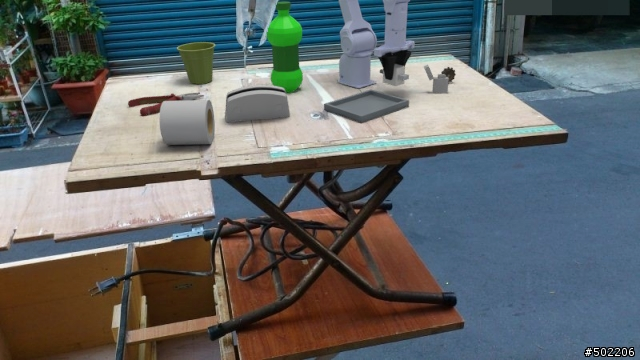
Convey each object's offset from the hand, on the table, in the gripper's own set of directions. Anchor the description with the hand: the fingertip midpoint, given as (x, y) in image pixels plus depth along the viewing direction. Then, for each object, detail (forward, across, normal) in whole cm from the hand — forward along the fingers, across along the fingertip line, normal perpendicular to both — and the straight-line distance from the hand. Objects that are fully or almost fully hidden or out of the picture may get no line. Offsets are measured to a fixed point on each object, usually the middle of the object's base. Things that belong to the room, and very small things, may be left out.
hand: (393, 77), depth 151 cm
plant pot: (+6, -32, +53) cm, 62 cm away
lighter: (+5, +10, -7) cm, 13 cm away
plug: (+2, 0, 0) cm, 2 cm away
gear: (+5, +20, -4) cm, 21 cm away
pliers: (+6, -51, +38) cm, 64 cm away
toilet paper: (+5, -60, +9) cm, 61 cm away
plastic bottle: (+5, -18, +26) cm, 32 cm away
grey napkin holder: (+5, -39, +12) cm, 41 cm away
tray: (+5, -14, -3) cm, 15 cm away
